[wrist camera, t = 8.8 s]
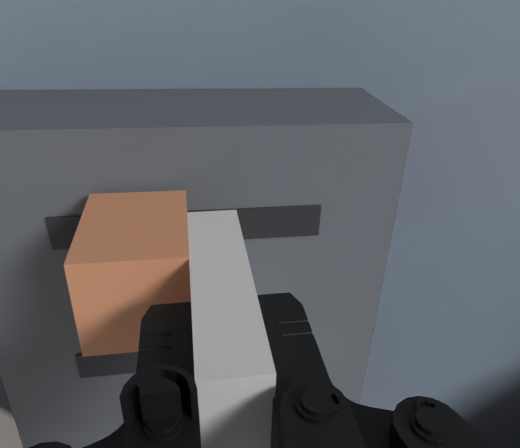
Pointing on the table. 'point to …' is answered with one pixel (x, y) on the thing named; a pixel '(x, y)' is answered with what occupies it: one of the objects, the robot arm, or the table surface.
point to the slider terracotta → (126, 265)
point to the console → (198, 200)
